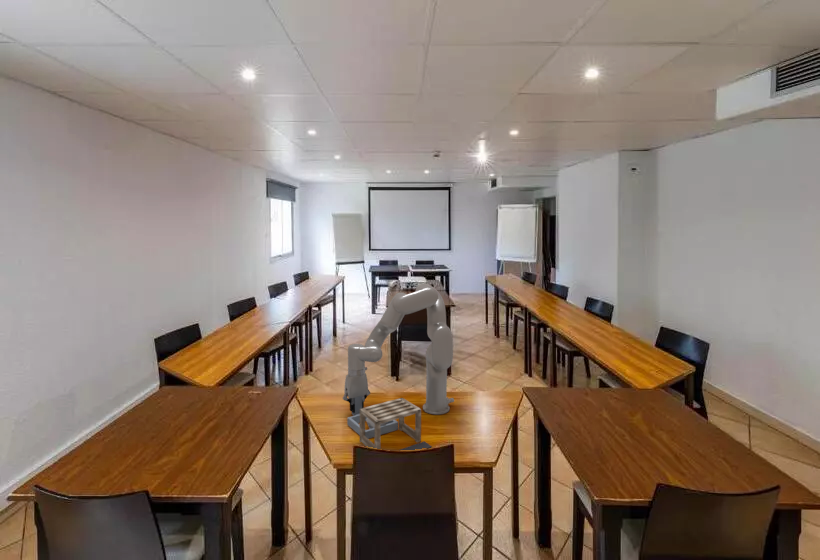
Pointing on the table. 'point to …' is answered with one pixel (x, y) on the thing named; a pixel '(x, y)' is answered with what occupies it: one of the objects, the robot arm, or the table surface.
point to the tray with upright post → (355, 420)
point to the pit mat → (418, 446)
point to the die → (371, 424)
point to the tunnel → (390, 419)
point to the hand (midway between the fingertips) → (356, 410)
